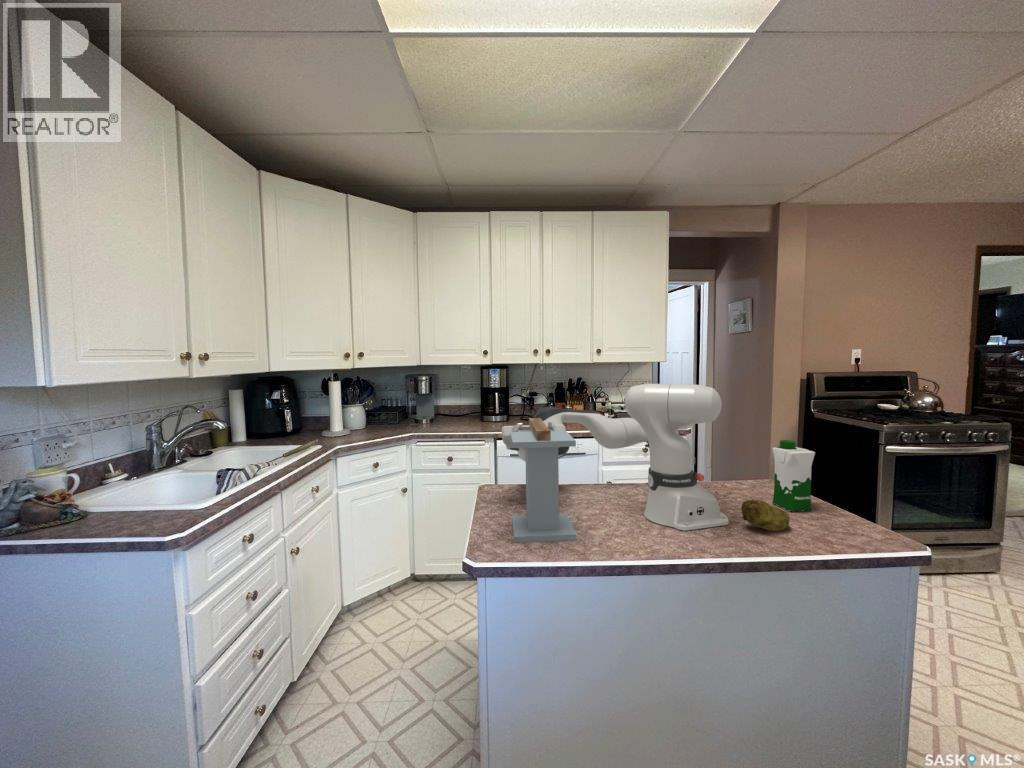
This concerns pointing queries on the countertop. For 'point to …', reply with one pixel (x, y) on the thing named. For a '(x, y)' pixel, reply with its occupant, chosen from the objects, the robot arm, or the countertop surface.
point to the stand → (542, 490)
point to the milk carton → (792, 476)
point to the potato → (764, 515)
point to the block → (539, 429)
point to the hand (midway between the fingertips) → (535, 424)
